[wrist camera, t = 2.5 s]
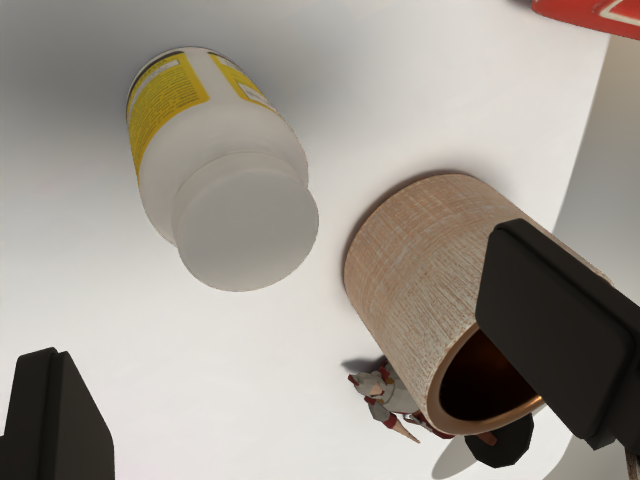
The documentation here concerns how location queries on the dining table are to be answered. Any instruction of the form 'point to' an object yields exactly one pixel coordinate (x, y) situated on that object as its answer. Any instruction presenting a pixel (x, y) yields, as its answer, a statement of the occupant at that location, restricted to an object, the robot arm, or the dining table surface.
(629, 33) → the butter dish
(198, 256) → the supplement bottle
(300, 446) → the dining table surface
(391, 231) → the planter
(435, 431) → the figurine
